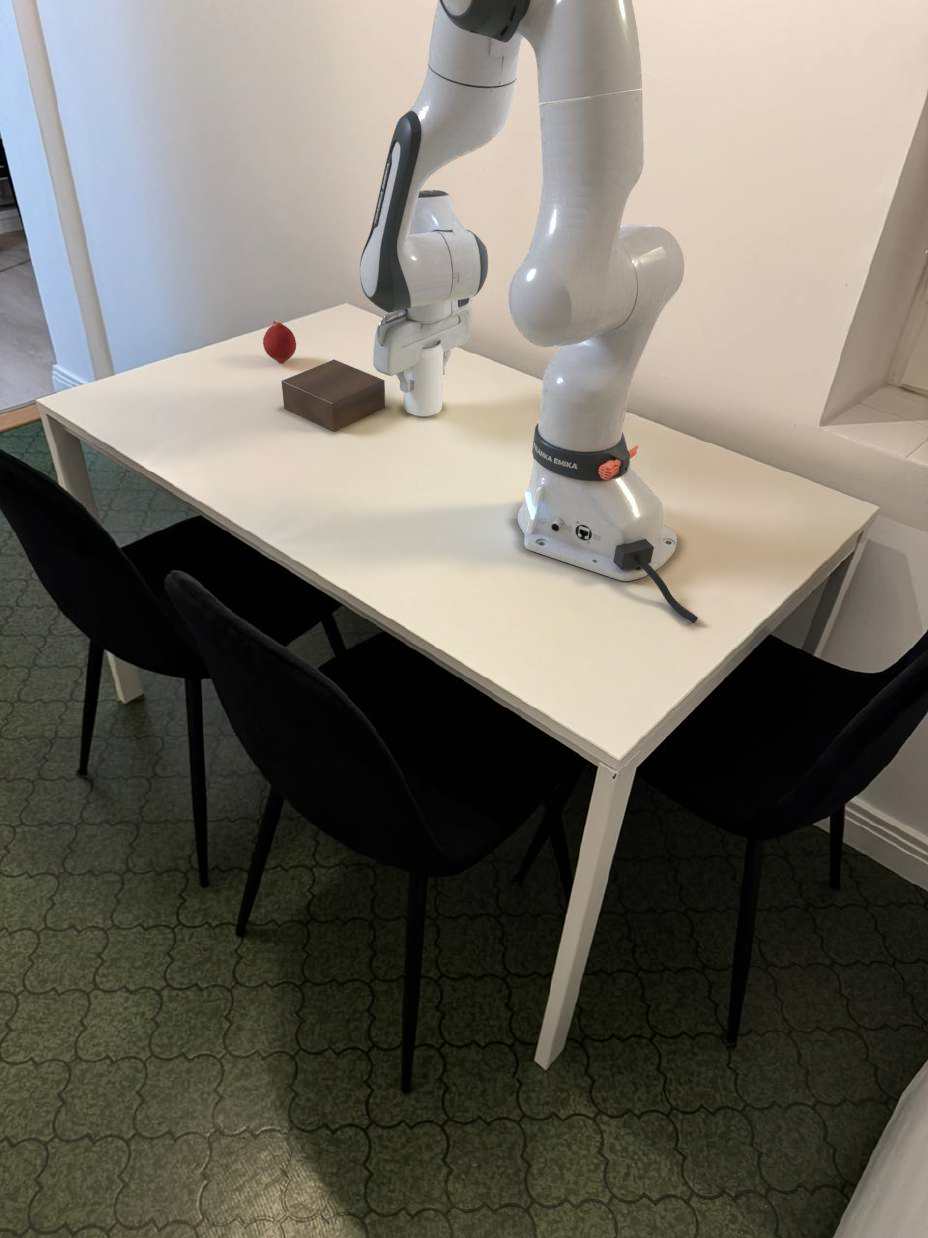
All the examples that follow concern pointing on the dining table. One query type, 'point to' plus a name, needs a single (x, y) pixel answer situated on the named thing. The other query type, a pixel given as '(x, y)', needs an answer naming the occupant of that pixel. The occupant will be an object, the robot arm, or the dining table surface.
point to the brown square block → (333, 394)
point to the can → (426, 384)
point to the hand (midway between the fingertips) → (422, 382)
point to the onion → (279, 342)
